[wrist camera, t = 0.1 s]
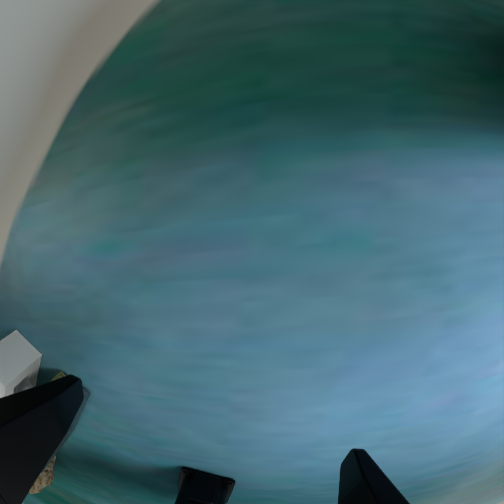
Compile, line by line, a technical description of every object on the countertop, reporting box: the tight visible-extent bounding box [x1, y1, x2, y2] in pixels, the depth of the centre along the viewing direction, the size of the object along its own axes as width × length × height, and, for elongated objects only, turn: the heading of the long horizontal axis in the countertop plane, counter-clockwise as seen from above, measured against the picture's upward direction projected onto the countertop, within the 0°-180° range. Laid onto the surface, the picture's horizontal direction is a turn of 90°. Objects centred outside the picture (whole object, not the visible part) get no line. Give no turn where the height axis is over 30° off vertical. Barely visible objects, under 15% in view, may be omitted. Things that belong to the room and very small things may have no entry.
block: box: [0, 330, 42, 398], centre depth 25 cm, size 4×8×7 cm, turn 146°
